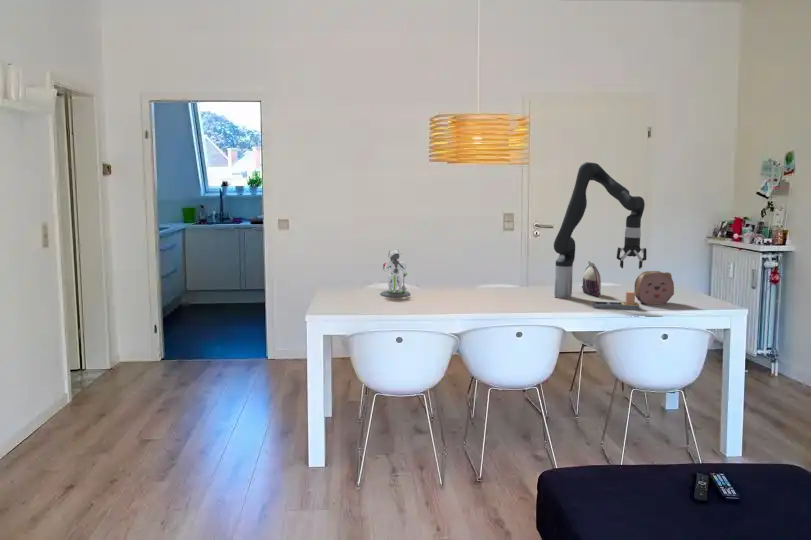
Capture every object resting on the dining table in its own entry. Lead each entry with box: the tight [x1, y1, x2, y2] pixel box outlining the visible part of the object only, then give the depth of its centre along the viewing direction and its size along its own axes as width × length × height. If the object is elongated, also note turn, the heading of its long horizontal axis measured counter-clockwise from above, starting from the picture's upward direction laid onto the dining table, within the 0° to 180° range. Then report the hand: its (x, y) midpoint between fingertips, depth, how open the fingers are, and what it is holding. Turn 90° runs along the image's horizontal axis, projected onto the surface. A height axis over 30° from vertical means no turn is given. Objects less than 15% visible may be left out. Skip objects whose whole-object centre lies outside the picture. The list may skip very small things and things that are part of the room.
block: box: [624, 291, 636, 305], centre depth 370 cm, size 4×4×8 cm
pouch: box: [581, 260, 602, 298], centre depth 407 cm, size 25×8×19 cm, turn 15°
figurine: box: [379, 249, 411, 298], centre depth 404 cm, size 17×17×25 cm
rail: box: [592, 300, 640, 310], centre depth 371 cm, size 22×8×2 cm, turn 81°
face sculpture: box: [634, 270, 675, 305], centre depth 383 cm, size 20×7×17 cm, turn 101°
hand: (630, 268), depth 368 cm, fingers open, 8 cm apart
